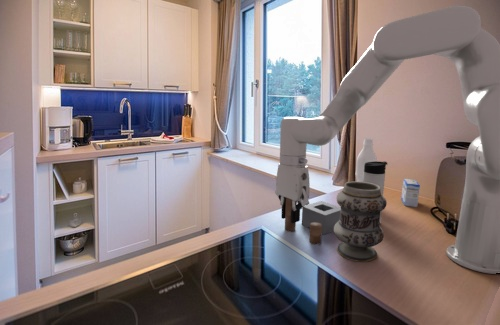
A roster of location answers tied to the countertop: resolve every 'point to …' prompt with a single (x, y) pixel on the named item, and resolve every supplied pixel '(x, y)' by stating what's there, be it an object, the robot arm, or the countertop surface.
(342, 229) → the apothecary jar
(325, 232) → the socket block
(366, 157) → the water bottle
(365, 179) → the travel mug
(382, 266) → the countertop surface
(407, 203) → the medicine box
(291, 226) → the long pin
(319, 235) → the short pin
